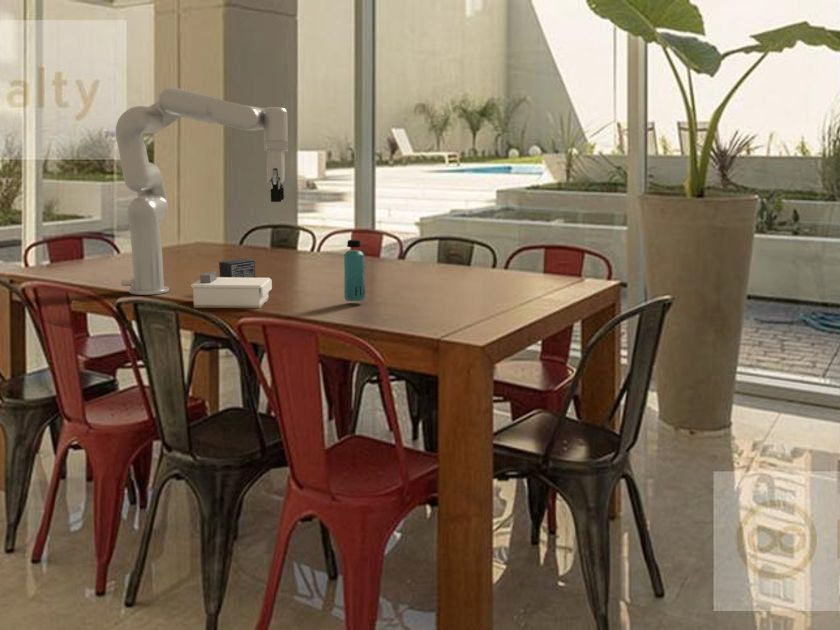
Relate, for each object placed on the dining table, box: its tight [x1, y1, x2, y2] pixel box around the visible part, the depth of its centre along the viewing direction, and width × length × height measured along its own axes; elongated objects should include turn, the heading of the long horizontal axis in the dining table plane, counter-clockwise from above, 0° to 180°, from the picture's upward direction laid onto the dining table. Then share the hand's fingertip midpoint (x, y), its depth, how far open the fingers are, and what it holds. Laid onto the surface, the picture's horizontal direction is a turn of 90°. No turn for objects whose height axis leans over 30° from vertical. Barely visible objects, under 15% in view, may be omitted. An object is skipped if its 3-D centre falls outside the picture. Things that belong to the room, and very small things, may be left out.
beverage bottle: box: [343, 239, 366, 302], centre depth 274 cm, size 6×7×20 cm
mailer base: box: [192, 288, 269, 309], centre depth 275 cm, size 20×14×6 cm
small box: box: [218, 258, 256, 278], centre depth 297 cm, size 11×6×10 cm, turn 141°
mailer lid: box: [190, 270, 273, 297], centre depth 275 cm, size 22×15×6 cm
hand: (277, 200), depth 287 cm, fingers open, 9 cm apart
